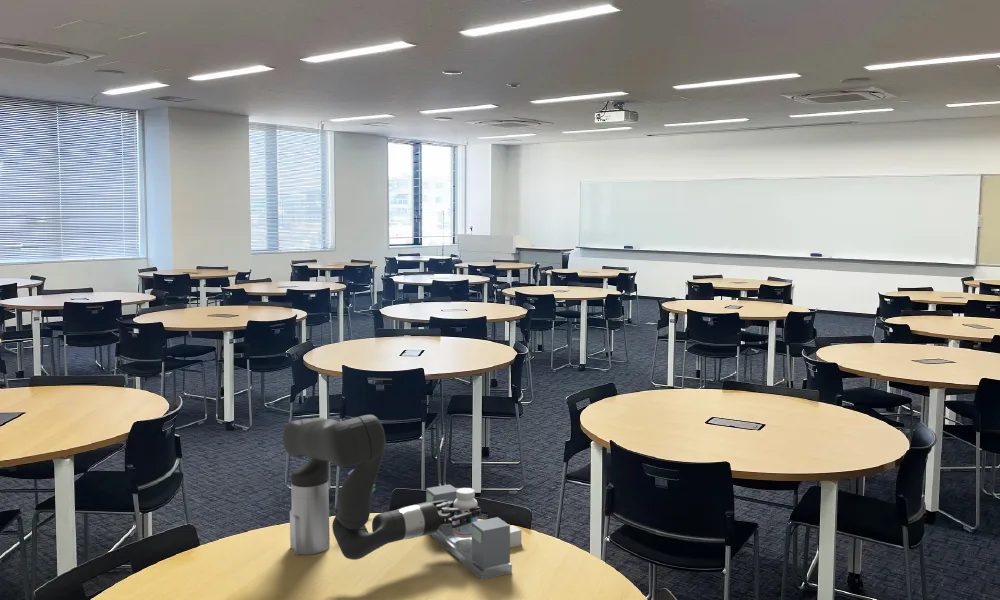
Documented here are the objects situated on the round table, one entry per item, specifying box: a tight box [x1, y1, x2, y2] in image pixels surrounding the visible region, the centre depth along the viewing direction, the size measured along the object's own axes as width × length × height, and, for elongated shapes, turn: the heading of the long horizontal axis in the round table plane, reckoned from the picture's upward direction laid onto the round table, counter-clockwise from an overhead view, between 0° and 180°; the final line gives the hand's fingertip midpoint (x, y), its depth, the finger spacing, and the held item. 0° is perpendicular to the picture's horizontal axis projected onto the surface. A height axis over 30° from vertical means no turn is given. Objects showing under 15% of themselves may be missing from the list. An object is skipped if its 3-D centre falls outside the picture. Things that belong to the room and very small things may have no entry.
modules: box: [425, 484, 511, 569], centre depth 187 cm, size 7×34×9 cm, turn 28°
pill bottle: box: [453, 487, 479, 538], centre depth 186 cm, size 6×6×11 cm
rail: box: [429, 525, 513, 580], centre depth 187 cm, size 8×34×2 cm, turn 28°
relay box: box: [510, 525, 522, 549], centre depth 190 cm, size 6×4×4 cm, turn 124°
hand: (473, 507), depth 188 cm, fingers closed on pill bottle, 6 cm apart
